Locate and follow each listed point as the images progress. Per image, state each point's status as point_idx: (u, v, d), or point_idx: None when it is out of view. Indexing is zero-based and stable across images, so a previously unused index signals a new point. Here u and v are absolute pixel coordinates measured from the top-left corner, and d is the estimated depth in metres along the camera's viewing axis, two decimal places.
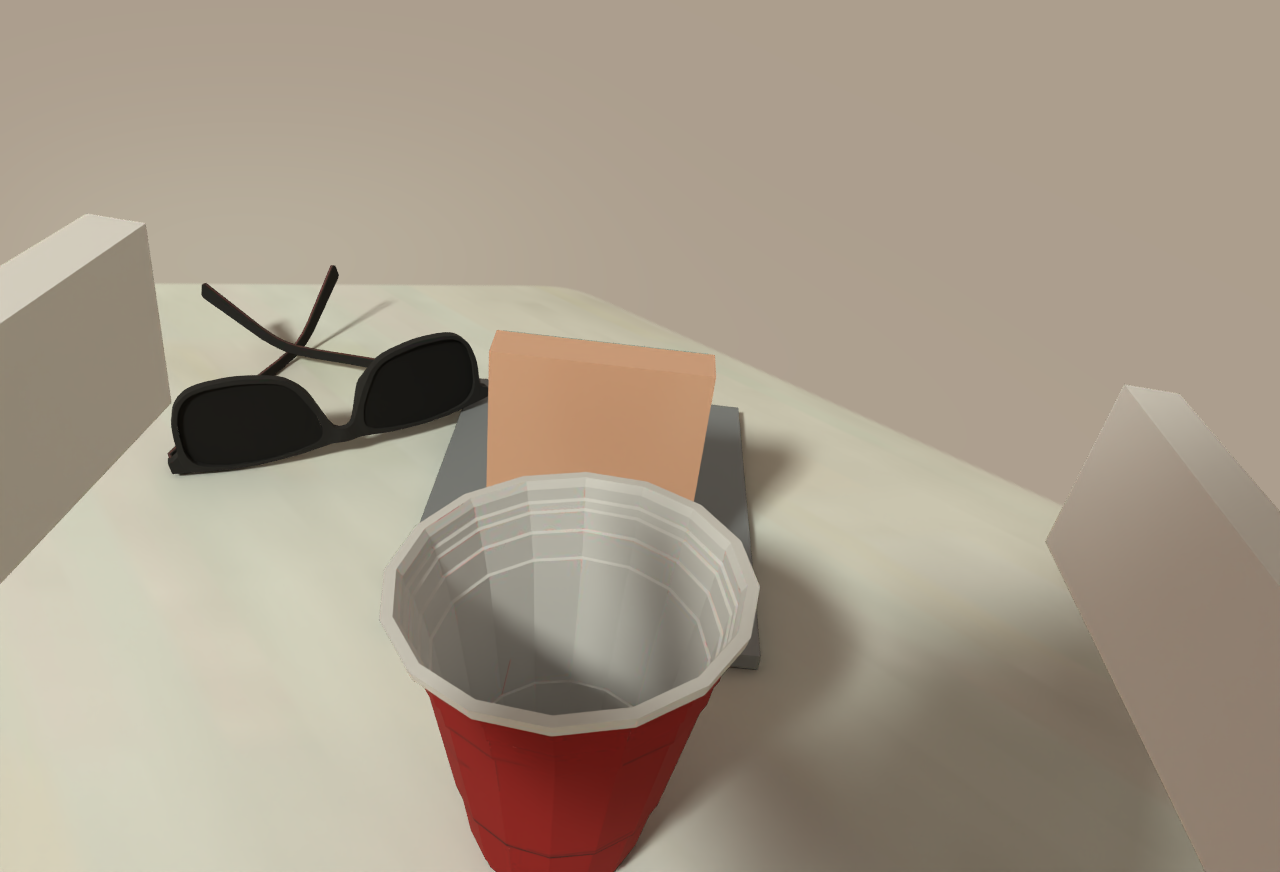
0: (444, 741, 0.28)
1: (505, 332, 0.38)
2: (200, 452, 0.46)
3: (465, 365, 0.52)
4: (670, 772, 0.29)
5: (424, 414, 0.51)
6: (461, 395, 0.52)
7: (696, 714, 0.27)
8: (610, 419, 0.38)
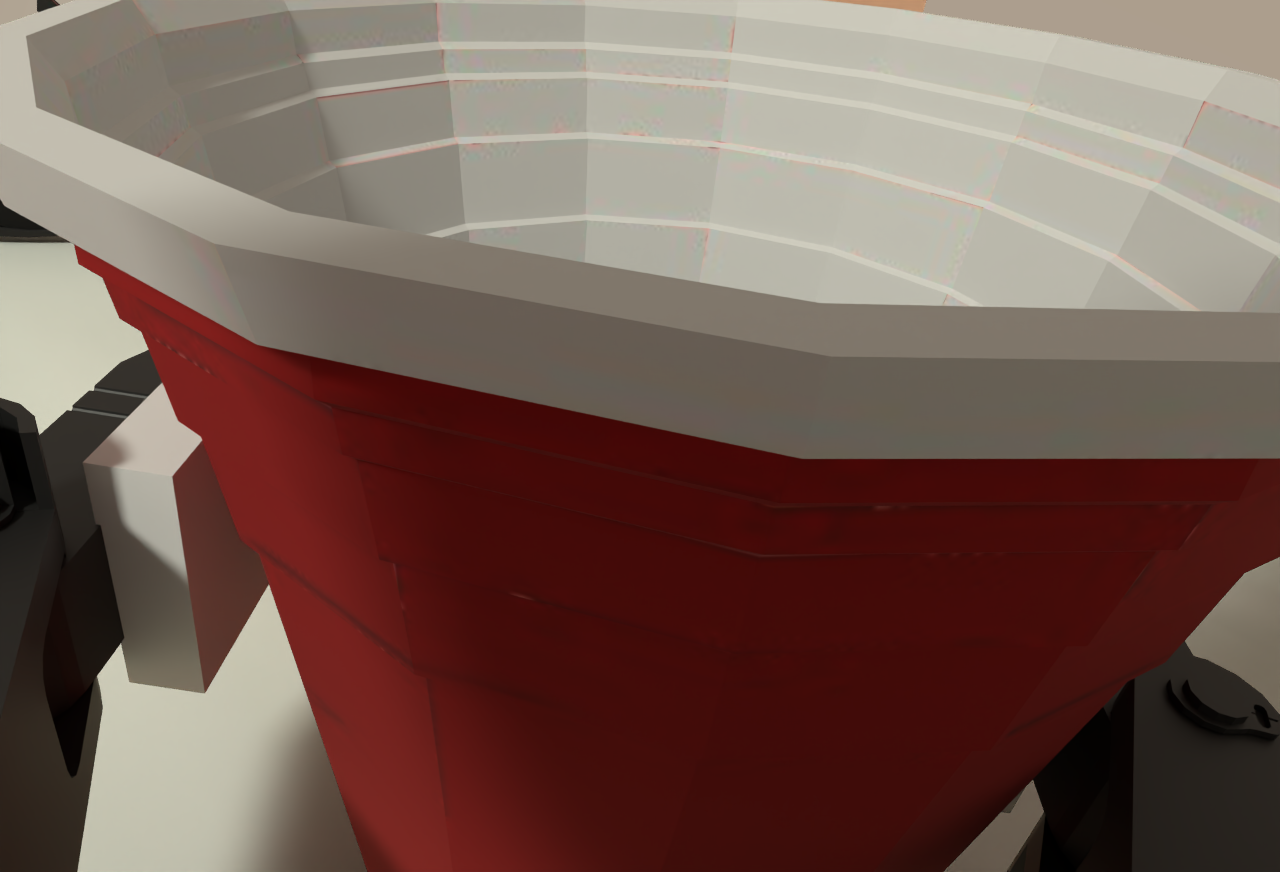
0: None
1: None
2: None
3: None
4: None
5: None
6: None
7: None
8: None
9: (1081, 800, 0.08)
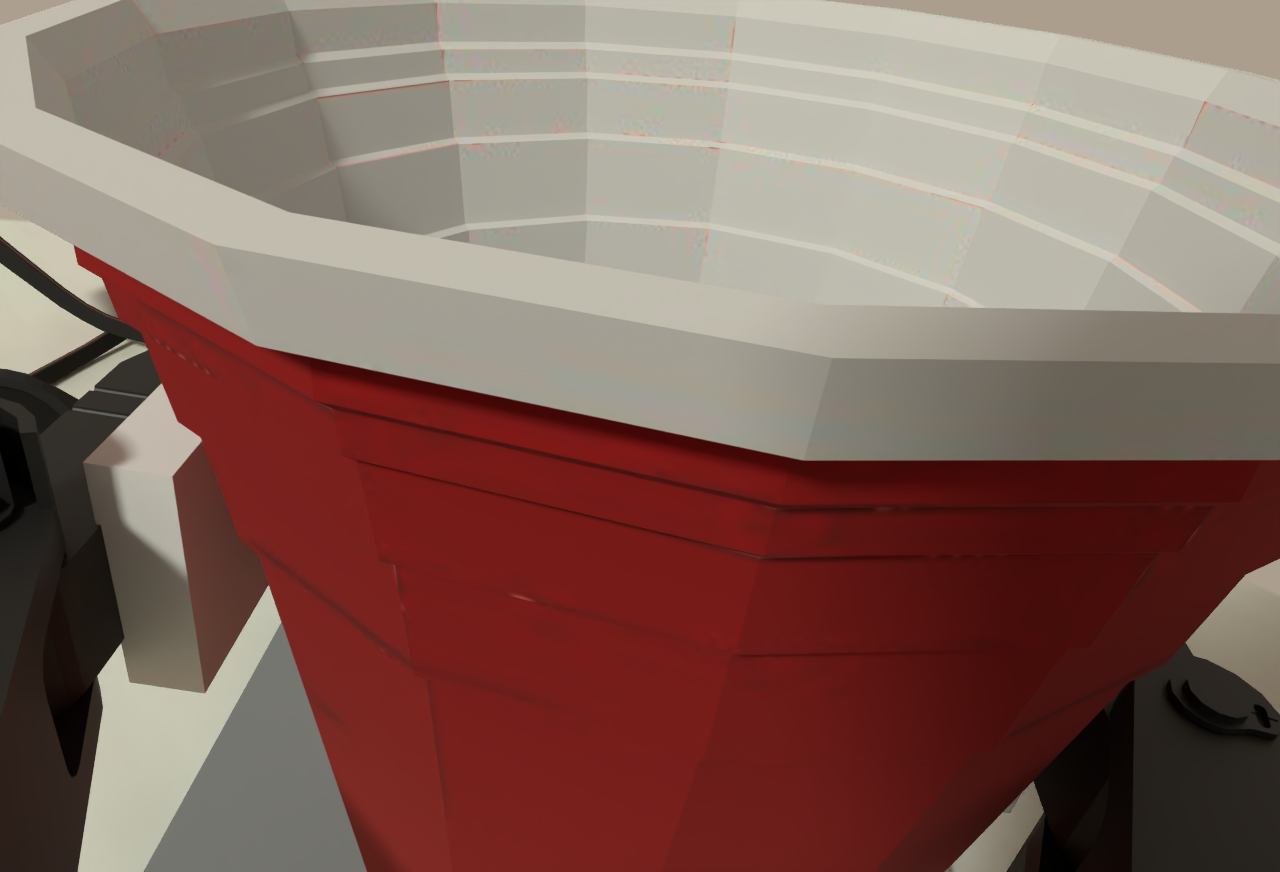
0: None
1: None
2: None
3: None
4: None
5: None
6: None
7: None
8: None
9: (1080, 800, 0.08)
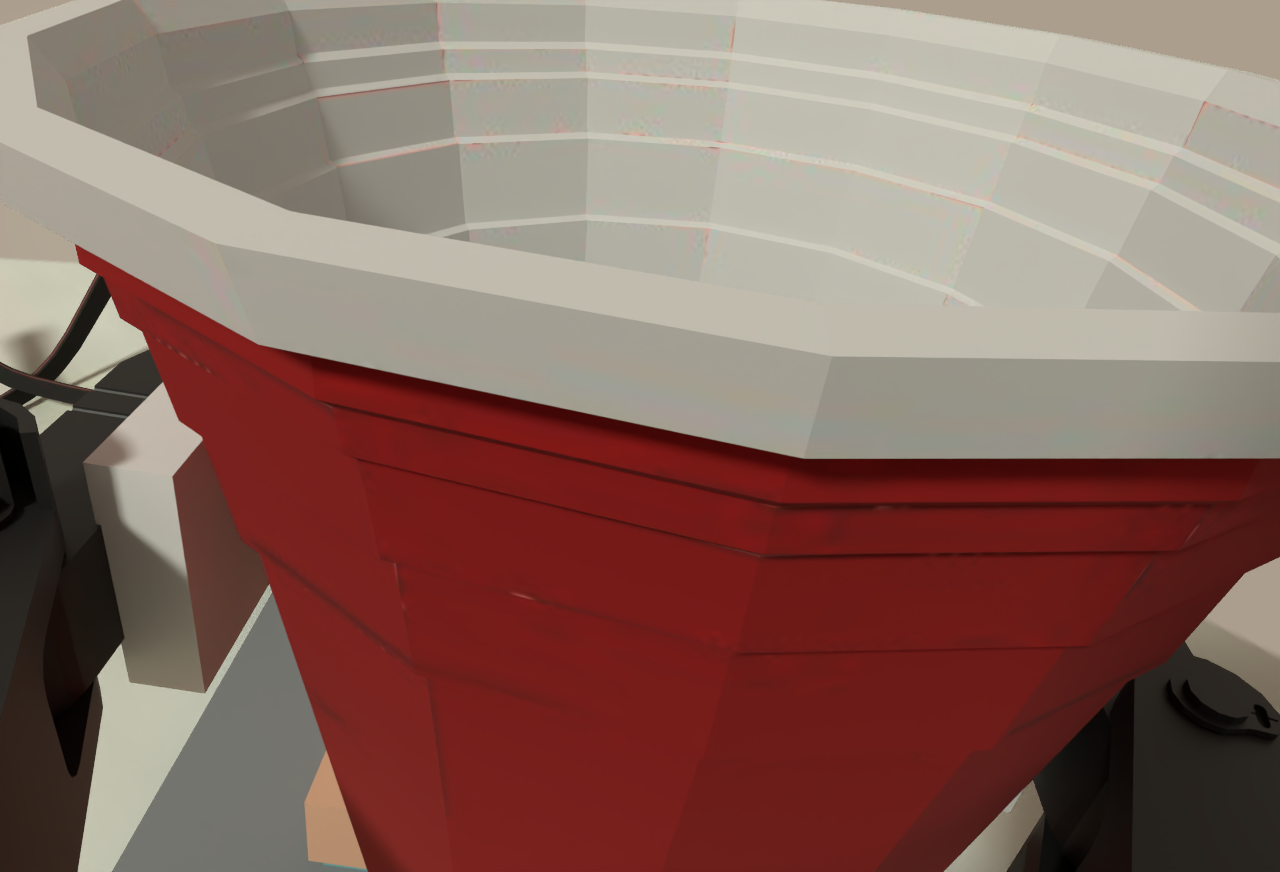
0: None
1: None
2: None
3: None
4: None
5: None
6: None
7: None
8: None
9: (1081, 800, 0.08)
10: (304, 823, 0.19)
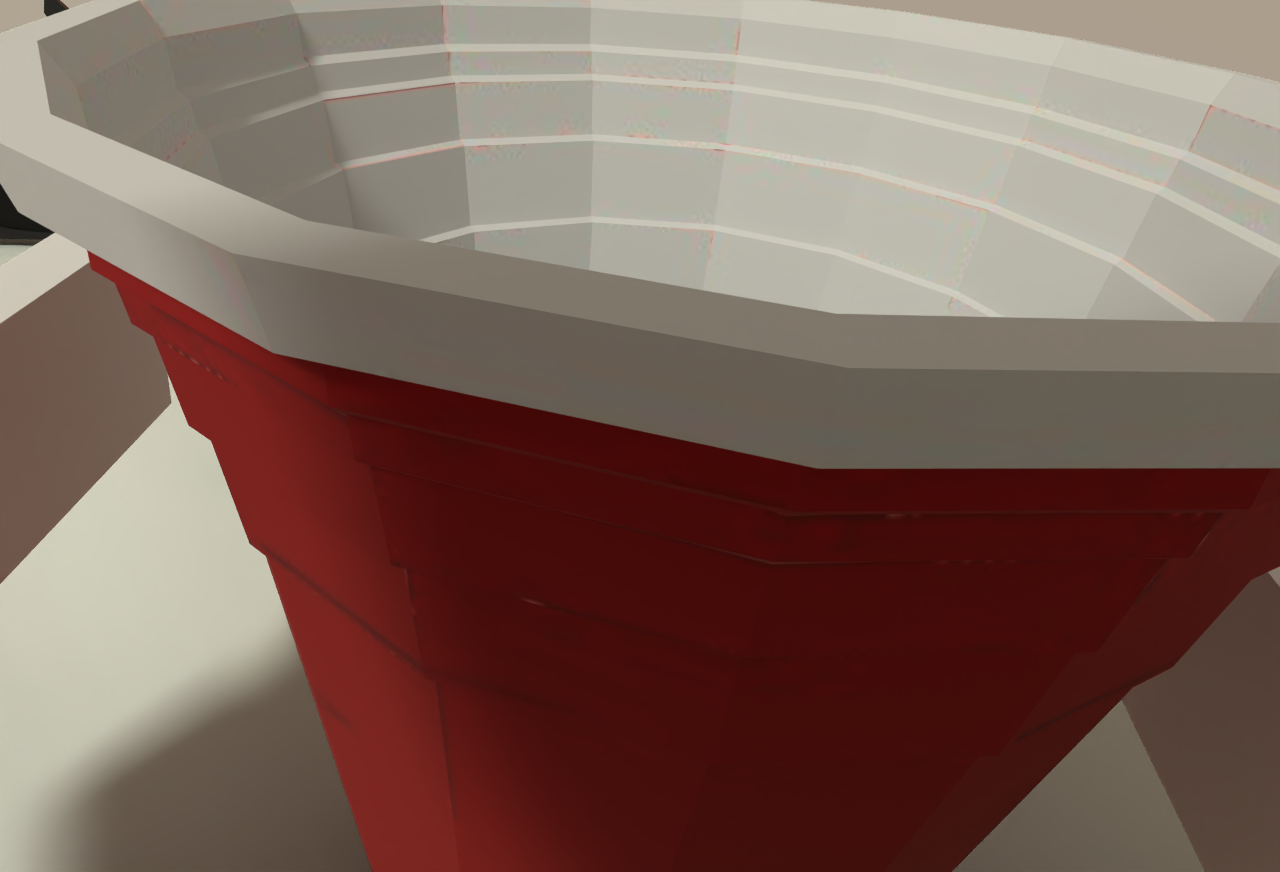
0: None
1: None
2: None
3: None
4: None
5: None
6: None
7: None
8: None
9: None
10: None
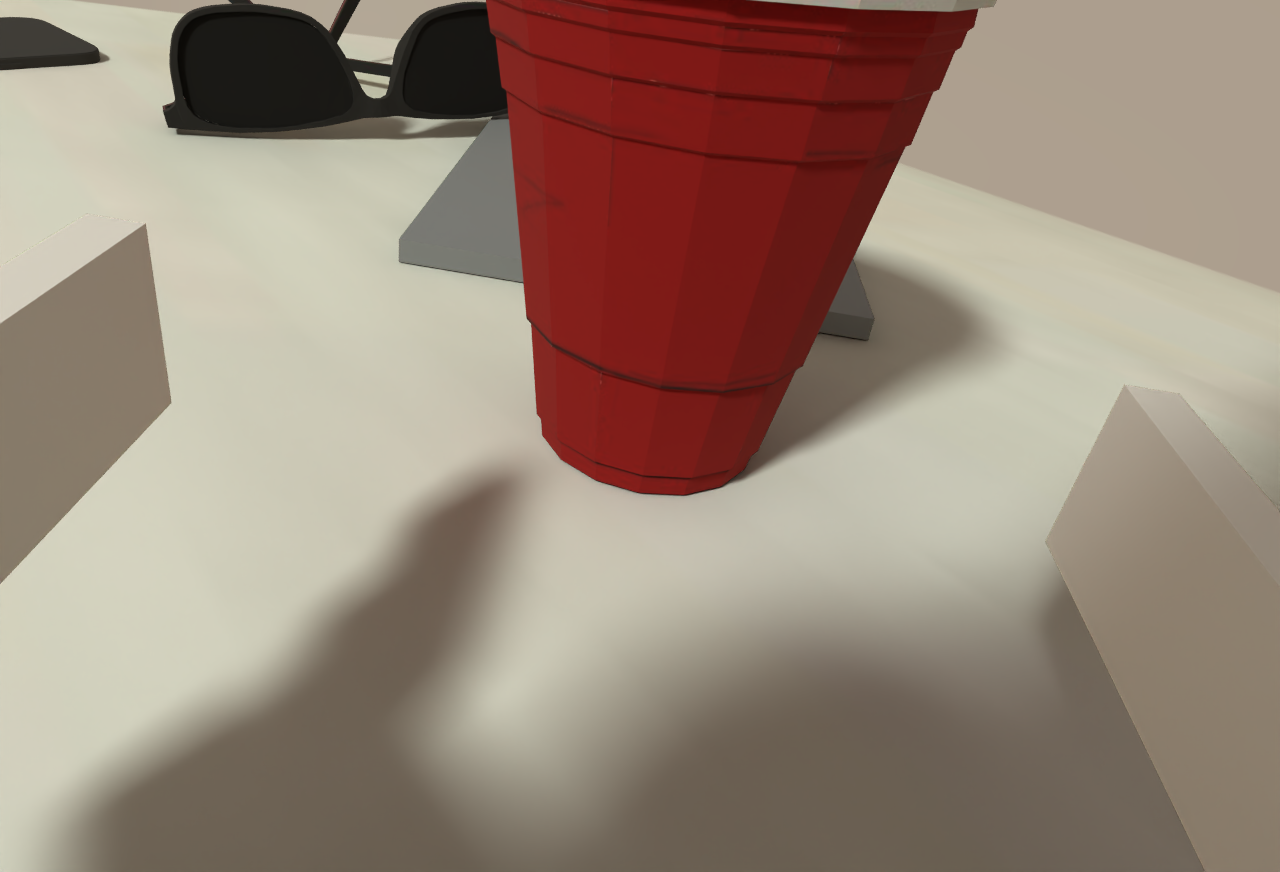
0: (522, 208, 0.20)
1: None
2: (203, 104, 0.38)
3: None
4: (835, 289, 0.20)
5: (471, 107, 0.43)
6: None
7: (901, 140, 0.18)
8: None
9: None
10: None
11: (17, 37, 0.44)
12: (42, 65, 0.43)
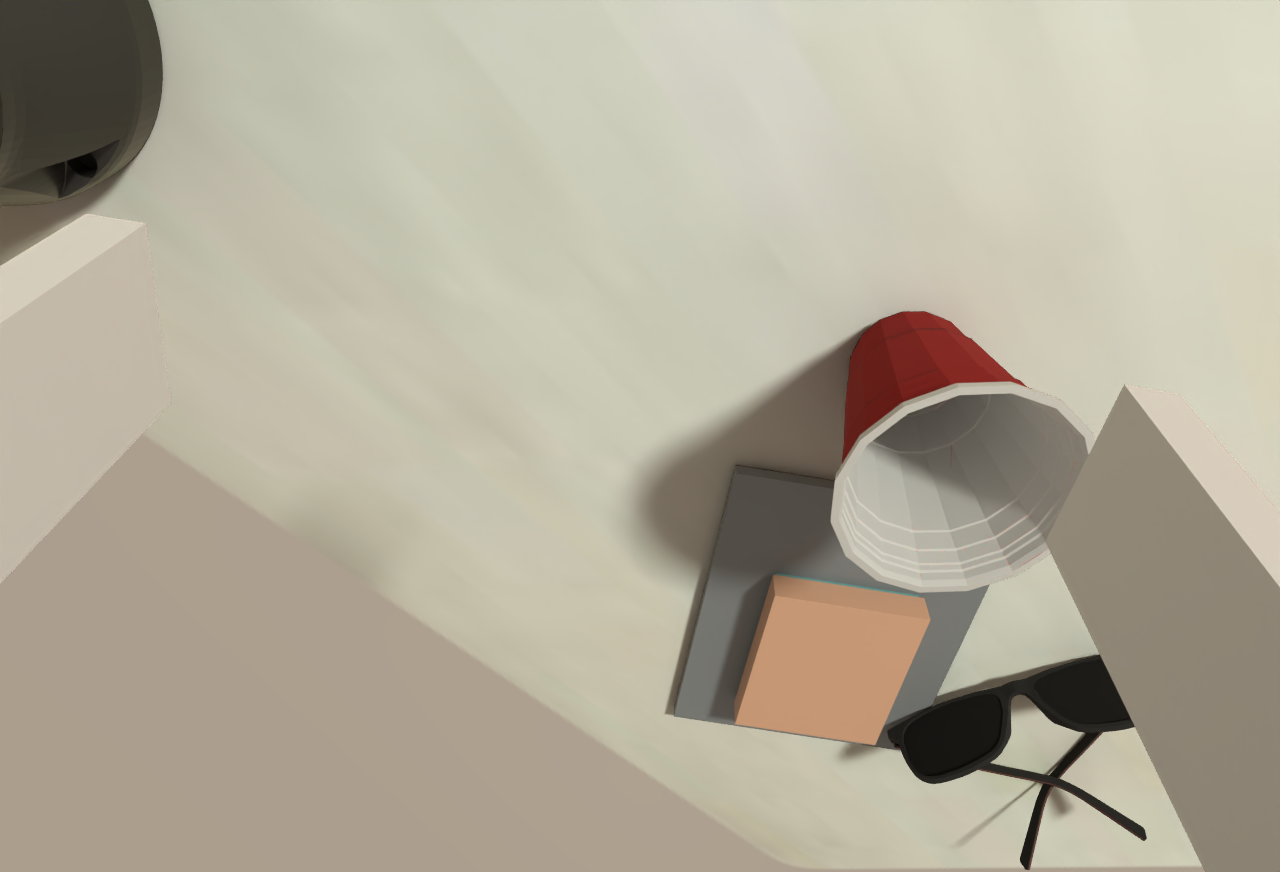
0: None
1: None
2: None
3: (914, 755, 0.58)
4: (866, 373, 0.42)
5: (944, 709, 0.59)
6: (912, 729, 0.60)
7: (876, 400, 0.39)
8: (807, 706, 0.57)
9: None
10: None
11: None
12: None
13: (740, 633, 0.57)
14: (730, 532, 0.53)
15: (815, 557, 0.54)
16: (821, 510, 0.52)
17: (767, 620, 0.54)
